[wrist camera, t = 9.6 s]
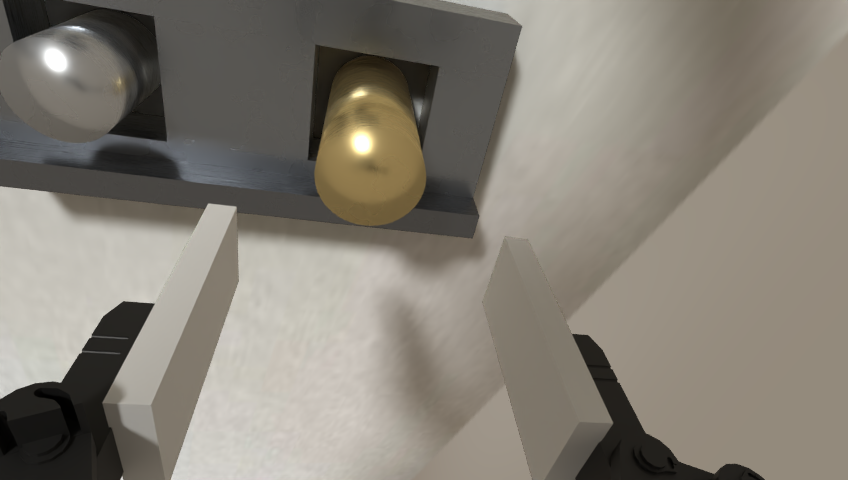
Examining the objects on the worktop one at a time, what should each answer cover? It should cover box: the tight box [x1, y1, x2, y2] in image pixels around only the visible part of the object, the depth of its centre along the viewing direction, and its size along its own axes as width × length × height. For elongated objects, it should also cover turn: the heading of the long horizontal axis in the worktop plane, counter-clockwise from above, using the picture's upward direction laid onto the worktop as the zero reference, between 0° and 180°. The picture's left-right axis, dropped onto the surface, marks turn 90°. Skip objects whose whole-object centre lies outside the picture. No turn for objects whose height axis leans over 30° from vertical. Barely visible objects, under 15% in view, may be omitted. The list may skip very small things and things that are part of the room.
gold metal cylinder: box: [314, 56, 426, 226], centre depth 23 cm, size 4×4×10 cm
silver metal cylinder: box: [0, 9, 161, 143], centre depth 23 cm, size 4×4×6 cm
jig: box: [0, 0, 522, 238], centre depth 24 cm, size 11×26×5 cm, turn 79°
